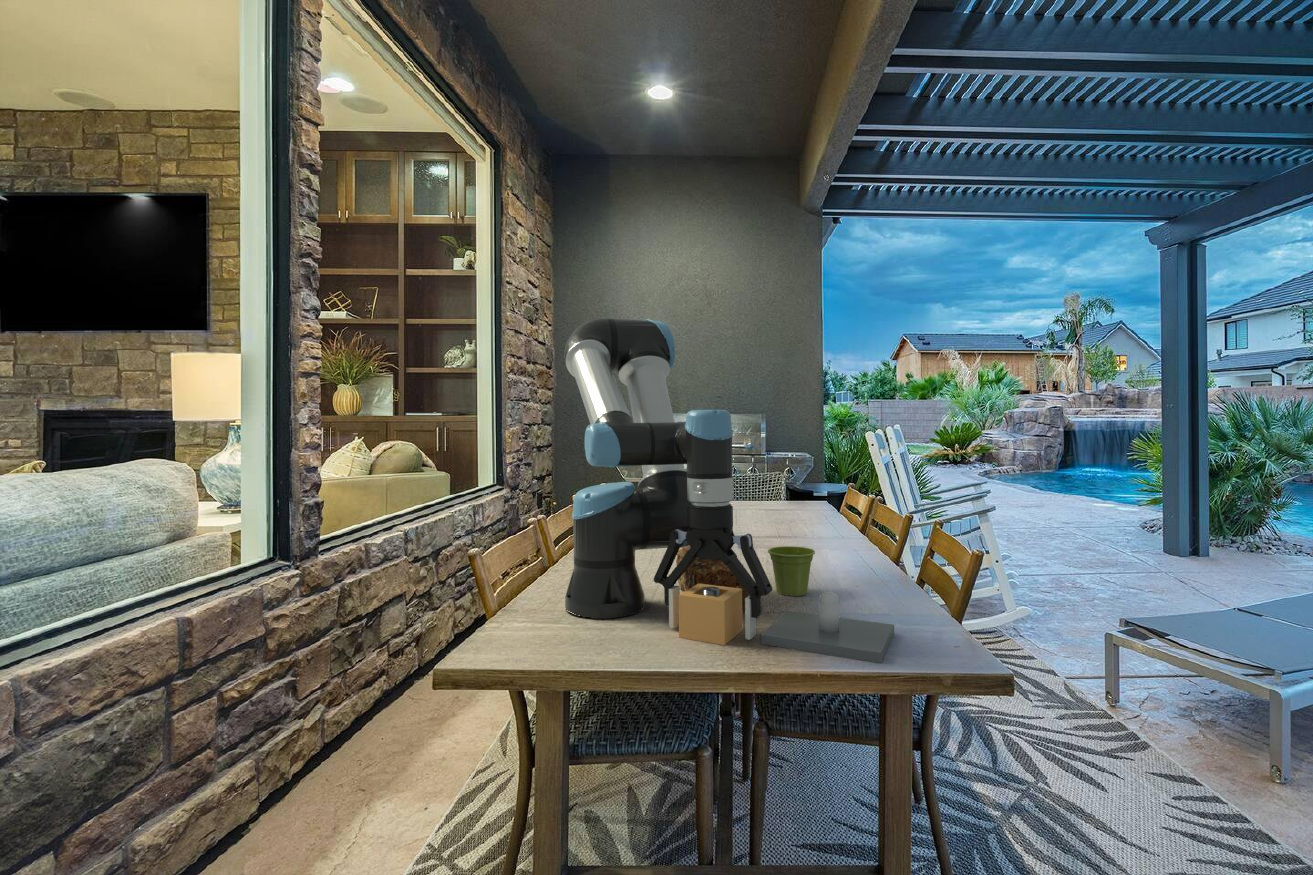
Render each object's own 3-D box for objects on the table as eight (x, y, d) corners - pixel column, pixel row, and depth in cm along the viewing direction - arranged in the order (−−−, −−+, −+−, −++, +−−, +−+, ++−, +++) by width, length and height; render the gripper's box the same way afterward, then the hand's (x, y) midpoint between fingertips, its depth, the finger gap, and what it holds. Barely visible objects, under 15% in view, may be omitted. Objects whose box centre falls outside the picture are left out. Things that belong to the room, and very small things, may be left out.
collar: (679, 637, 104) (678, 594, 104) (699, 623, 111) (698, 583, 111) (724, 645, 100) (724, 601, 100) (742, 629, 107) (742, 588, 107)
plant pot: (759, 590, 132) (758, 548, 132) (796, 584, 136) (795, 544, 136) (786, 601, 124) (786, 557, 123) (825, 595, 128) (824, 552, 127)
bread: (675, 588, 134) (675, 541, 134) (724, 586, 136) (724, 539, 136) (695, 615, 116) (694, 561, 116) (751, 611, 118) (751, 558, 118)
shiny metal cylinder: (700, 634, 105) (699, 589, 105) (706, 629, 108) (706, 585, 107) (715, 637, 104) (715, 591, 104) (722, 632, 106) (721, 587, 106)
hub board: (761, 643, 101) (761, 596, 100) (786, 618, 113) (786, 576, 113) (880, 663, 92) (880, 611, 92) (894, 633, 105) (894, 587, 104)
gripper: (633, 502, 108) (635, 627, 108) (776, 509, 96) (777, 649, 96) (654, 497, 114) (655, 615, 115) (790, 503, 103) (791, 634, 103)
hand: (711, 631), depth 106 cm, fingers open, 13 cm apart
